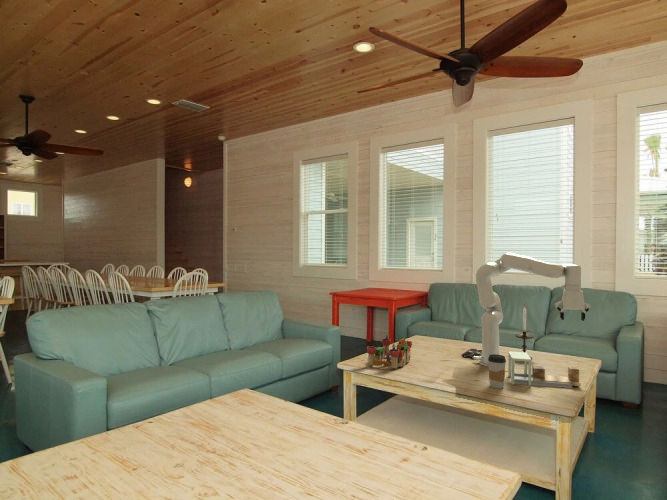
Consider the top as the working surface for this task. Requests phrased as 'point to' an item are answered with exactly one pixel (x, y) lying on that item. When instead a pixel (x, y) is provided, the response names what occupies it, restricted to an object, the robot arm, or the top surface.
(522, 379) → the lane board
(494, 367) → the coffee cup
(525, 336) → the candlestick
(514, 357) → the white stool
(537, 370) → the cube
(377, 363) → the block castle
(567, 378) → the strip
